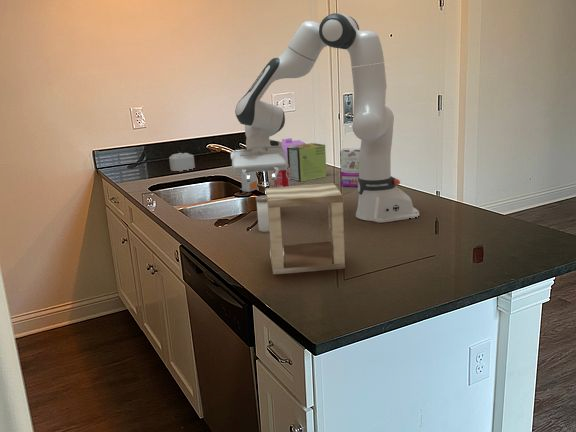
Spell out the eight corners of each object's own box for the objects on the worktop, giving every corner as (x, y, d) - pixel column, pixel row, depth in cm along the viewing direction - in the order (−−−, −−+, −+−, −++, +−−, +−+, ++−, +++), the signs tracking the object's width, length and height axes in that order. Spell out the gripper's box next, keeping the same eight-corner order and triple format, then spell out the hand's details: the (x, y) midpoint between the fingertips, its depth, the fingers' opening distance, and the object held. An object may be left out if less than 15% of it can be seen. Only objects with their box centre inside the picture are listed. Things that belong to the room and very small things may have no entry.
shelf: (269, 254, 178) (265, 186, 172) (335, 248, 179) (332, 181, 173) (273, 274, 161) (268, 200, 156) (344, 268, 163) (342, 195, 157)
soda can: (290, 197, 245) (288, 166, 242) (273, 197, 247) (271, 166, 243) (293, 193, 252) (291, 163, 249) (277, 193, 254) (275, 163, 250)
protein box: (327, 176, 280) (325, 144, 276) (300, 182, 272) (299, 149, 268) (314, 173, 289) (312, 142, 284) (288, 179, 280) (286, 146, 276)
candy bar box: (368, 185, 258) (367, 148, 254) (365, 187, 254) (364, 150, 250) (344, 184, 263) (342, 147, 258) (340, 186, 258) (339, 149, 254)
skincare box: (249, 192, 258) (247, 165, 255) (242, 191, 261) (239, 164, 257) (257, 189, 263) (255, 162, 260) (250, 188, 266) (248, 162, 262)
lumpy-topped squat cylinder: (169, 169, 323) (167, 153, 320) (193, 166, 327) (191, 151, 324) (172, 172, 313) (170, 156, 311) (196, 169, 317) (195, 153, 315)
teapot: (297, 159, 330) (295, 134, 327) (309, 166, 307) (308, 140, 303) (270, 161, 327) (269, 136, 323) (281, 169, 304) (279, 142, 300)
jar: (272, 226, 205) (270, 194, 202) (273, 231, 200) (271, 198, 197) (257, 227, 205) (255, 196, 202) (258, 232, 200) (256, 199, 197)
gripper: (229, 145, 212) (231, 177, 206) (285, 141, 214) (289, 173, 207) (230, 155, 218) (232, 187, 211) (285, 151, 219) (289, 182, 212)
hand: (261, 180), depth 209 cm, fingers open, 8 cm apart
